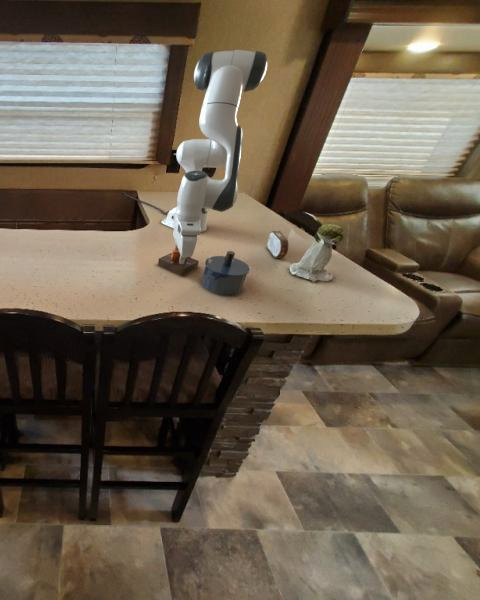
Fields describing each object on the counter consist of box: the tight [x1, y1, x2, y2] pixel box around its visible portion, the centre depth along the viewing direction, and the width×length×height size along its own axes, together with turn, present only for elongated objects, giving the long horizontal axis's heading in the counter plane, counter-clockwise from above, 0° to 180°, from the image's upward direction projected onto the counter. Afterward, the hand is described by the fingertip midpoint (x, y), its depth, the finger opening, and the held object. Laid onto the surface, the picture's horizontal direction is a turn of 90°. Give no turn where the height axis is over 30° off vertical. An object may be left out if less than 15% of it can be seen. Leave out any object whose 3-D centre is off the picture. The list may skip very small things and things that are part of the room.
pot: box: [201, 266, 248, 296], centre depth 99 cm, size 13×18×8 cm
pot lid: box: [204, 250, 251, 277], centre depth 96 cm, size 14×14×6 cm
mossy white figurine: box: [289, 223, 345, 283], centre depth 102 cm, size 12×13×18 cm
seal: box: [171, 249, 187, 261], centre depth 110 cm, size 6×2×4 cm, turn 84°
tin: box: [266, 230, 289, 259], centre depth 119 cm, size 15×3×8 cm, turn 168°
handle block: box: [157, 252, 200, 277], centre depth 112 cm, size 11×10×3 cm
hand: (179, 257), depth 111 cm, fingers open, 8 cm apart
